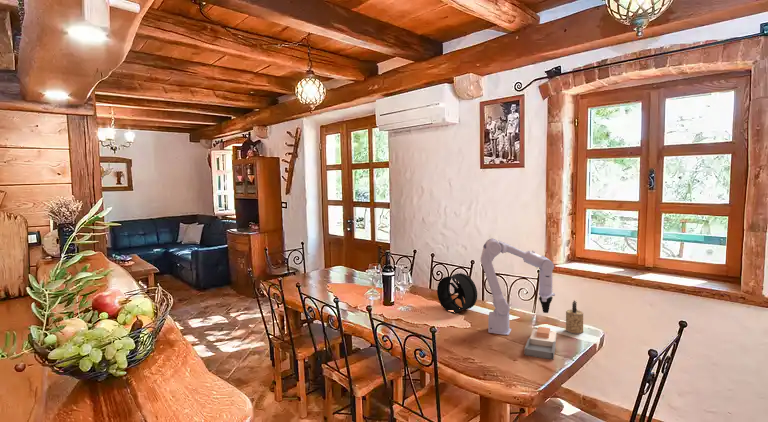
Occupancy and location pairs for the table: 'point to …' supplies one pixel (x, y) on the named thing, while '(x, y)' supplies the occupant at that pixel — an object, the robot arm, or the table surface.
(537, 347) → the tray
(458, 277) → the car wheel rim
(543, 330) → the tile
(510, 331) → the robot arm
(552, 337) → the board
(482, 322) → the table surface
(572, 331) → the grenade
